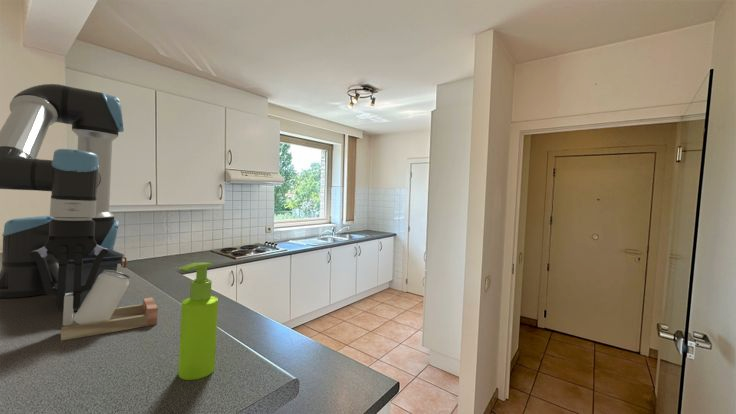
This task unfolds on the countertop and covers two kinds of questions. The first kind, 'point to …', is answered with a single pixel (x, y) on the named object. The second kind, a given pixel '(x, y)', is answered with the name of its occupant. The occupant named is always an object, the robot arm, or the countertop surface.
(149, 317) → the guide lane
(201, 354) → the soap dispenser
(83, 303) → the can
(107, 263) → the storage bin
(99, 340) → the countertop surface
